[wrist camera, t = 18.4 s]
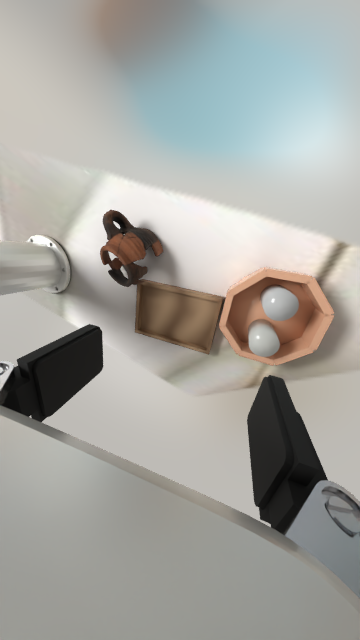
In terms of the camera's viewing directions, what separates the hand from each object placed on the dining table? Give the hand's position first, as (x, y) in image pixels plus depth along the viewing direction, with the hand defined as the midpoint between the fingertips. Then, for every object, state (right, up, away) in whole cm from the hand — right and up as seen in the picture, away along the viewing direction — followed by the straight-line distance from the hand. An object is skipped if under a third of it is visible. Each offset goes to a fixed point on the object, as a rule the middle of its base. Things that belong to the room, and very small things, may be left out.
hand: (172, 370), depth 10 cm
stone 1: (+15, +6, +18) cm, 24 cm away
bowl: (+15, +4, +20) cm, 25 cm away
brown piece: (-7, +16, +23) cm, 29 cm away
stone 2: (+14, +1, +20) cm, 25 cm away
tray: (0, +4, +25) cm, 25 cm away
